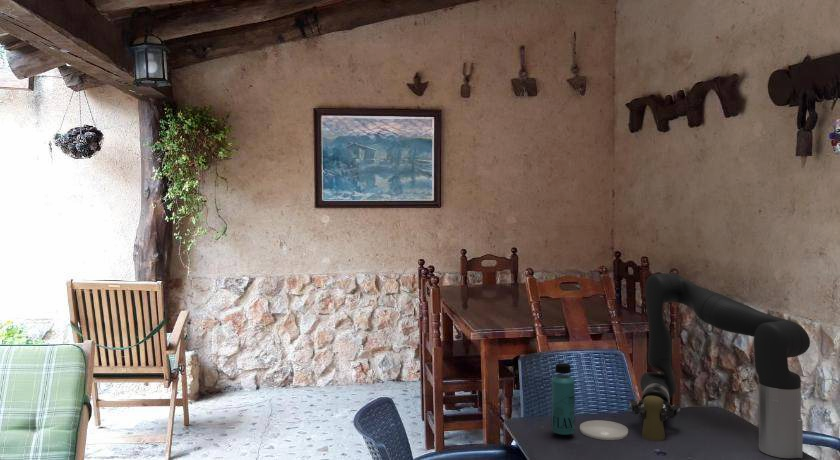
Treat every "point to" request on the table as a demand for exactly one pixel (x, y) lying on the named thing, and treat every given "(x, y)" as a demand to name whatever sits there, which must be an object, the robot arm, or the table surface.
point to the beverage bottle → (563, 401)
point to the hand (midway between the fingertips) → (653, 416)
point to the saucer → (604, 430)
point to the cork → (653, 419)
